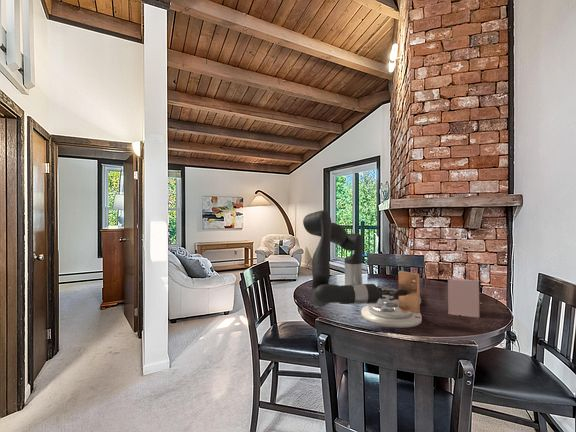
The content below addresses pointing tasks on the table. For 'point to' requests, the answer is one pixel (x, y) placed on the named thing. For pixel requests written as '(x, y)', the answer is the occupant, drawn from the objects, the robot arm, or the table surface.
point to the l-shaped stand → (400, 299)
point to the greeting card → (463, 297)
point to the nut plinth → (391, 320)
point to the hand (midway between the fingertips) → (405, 292)
